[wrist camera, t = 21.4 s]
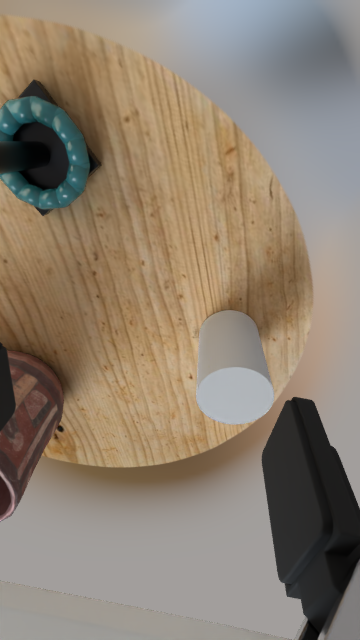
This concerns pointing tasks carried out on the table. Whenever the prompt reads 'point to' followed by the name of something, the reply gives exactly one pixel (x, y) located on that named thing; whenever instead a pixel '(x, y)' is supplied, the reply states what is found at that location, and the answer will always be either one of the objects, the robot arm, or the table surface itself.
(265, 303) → the table surface
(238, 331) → the grey cylinder
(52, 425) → the pottery
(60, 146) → the peg stand
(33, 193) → the ring
